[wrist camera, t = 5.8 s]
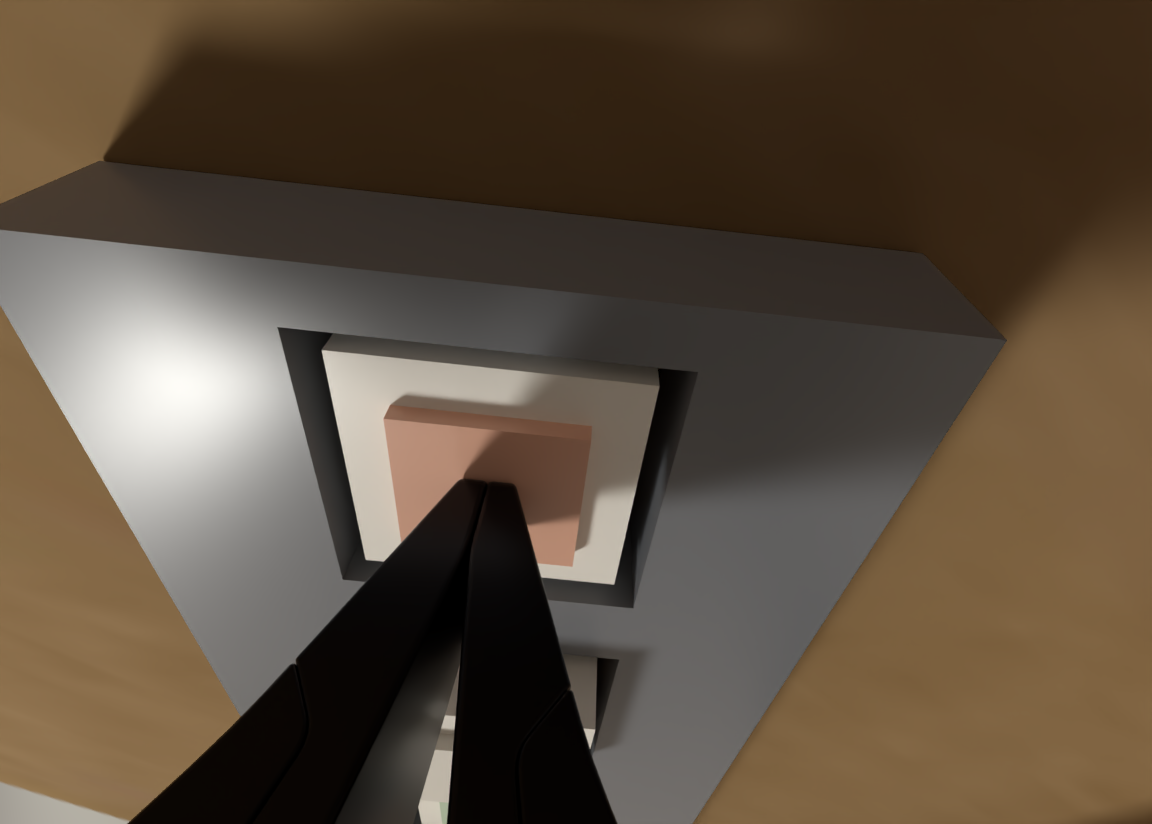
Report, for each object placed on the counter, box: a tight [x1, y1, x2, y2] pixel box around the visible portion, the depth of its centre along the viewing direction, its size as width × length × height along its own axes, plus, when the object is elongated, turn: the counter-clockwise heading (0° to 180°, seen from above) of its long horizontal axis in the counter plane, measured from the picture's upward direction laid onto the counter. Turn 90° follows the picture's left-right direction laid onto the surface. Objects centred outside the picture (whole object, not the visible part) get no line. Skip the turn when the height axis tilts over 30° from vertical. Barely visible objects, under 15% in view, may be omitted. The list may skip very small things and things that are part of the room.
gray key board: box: [0, 161, 1007, 824], centre depth 16 cm, size 12×28×2 cm, turn 175°
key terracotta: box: [322, 333, 660, 585], centre depth 10 cm, size 4×4×2 cm
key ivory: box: [420, 654, 597, 803], centre depth 13 cm, size 4×4×2 cm
